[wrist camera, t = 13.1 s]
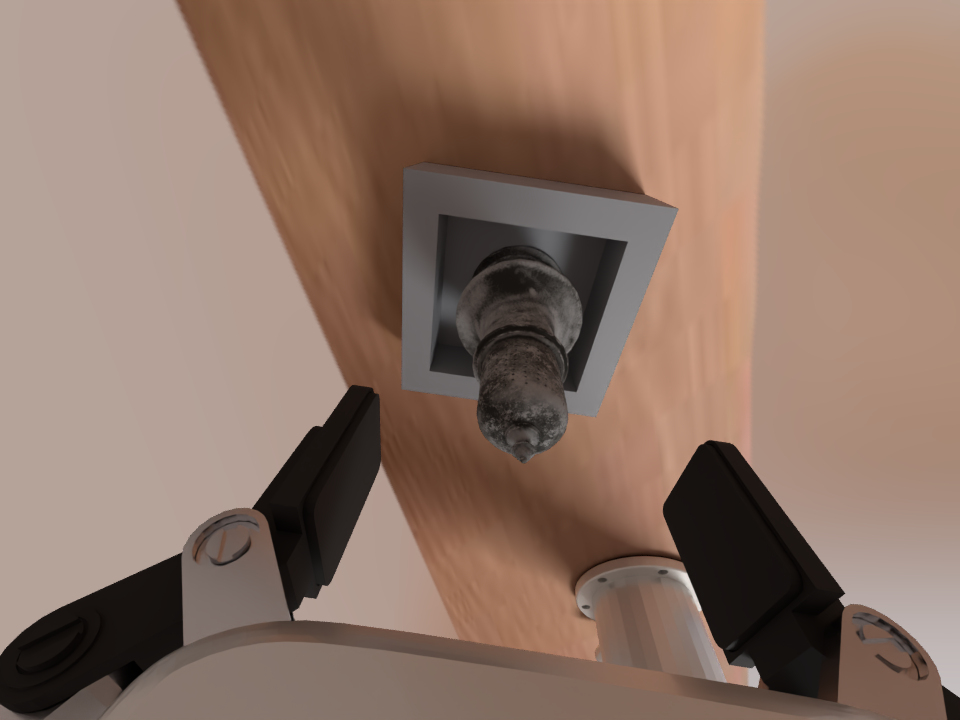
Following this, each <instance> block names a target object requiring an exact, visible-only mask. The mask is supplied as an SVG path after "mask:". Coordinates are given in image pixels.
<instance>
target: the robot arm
mask: <svg viewBox="0 0 960 720" xmlns="http://www.w3.org/2000/svg"><path fill="white" fill-rule="evenodd" d="M380 462H381V445H380V399H379V394H375V393H374V391H373V388H370V387H363V386H357V385H352V386H351V387H350V388H349V389H348V391H347V392H346V394H345V395H344V397H343V398H342V399H341V401H340V402H339V404H338V405H337V407H336V408H335V409H334V411H333V412H332V414H331V415H330V417H329V418H328V419H327V421H326V422H325V424H324V425H323V427H320V426H315V427H313V428H312V429H311V430H310V431H309V432H308V433H307V434H306V436H305V437H304V439H303V440H302V441H301V443H300V444H299V445H298V447H297V448H296V449H295V451H294V452H293V453H292V455H291V456H290V458H289V459H288V460H287V462H286V463H285V464H284V466H283V467H282V468H281V470H280V471H279V473H278V474H277V475H276V477H275V478H274V479H273V481H272V482H271V483H270V485H269V486H268V488H267V489H266V490H265V492H264V493H263V494H262V496H261V497H260V498H259V500H258V501H257V502H256V504H255V505H254V507H253V508H252V509H250V508H236V509H232V510H229V511H224V512H222V513H220V514H218V515H216V516H214V517H212V518H210V519H208V520H207V521H206V522H204V523H203V524H201V525H200V526H199V527H198V528H197V529H196V530H195V531H194V532H193V533H192V534H191V535H190V537H189V539H188V540H187V542H186V544H185V545H184V548H183V552H182V553H180V554H178V555H175V556H173V557H171V558H169V559H167V560H164V561H162V562H160V563H158V564H156V565H153V566H151V567H149V568H147V569H145V570H142V571H140V572H138V573H136V574H133V575H131V576H129V577H127V578H125V579H123V580H120V581H118V582H116V583H114V584H112V585H109V586H107V587H105V588H103V589H100V590H98V591H96V592H94V593H92V594H90V595H87V596H85V597H83V598H81V599H78V600H76V601H74V602H72V603H70V604H67V605H65V606H63V607H61V608H59V609H57V610H55V611H53V612H52V613H50V614H48V615H46V616H44V617H42V618H41V619H39V620H38V621H37V622H35V623H34V624H32V625H31V626H30V627H28V628H27V629H26V630H24V631H23V632H22V633H21V634H20V635H19V636H18V637H17V638H16V639H15V640H14V641H13V642H11V643H10V644H9V646H7V647H6V649H5V650H4V651H3V653H2V654H1V655H0V720H960V698H959V697H958V696H956V695H955V694H954V693H952V692H951V691H949V690H948V689H947V688H945V687H944V686H942V685H941V679H940V676H939V673H938V670H937V667H936V665H935V664H934V662H933V661H932V659H931V658H930V656H929V655H928V653H927V652H926V651H925V650H924V648H923V647H922V646H921V645H920V644H919V643H918V642H917V641H916V639H915V638H913V637H912V636H911V635H910V634H909V633H908V632H907V631H906V630H904V629H903V628H902V627H901V626H899V625H898V624H897V623H895V622H894V621H893V620H891V619H890V618H888V617H887V616H885V615H883V614H881V613H880V612H878V611H876V610H874V609H872V608H869V607H866V606H863V605H858V604H850V605H848V606H846V607H844V606H843V605H842V603H841V602H840V600H839V598H840V597H841V596H843V595H844V594H845V593H844V591H843V590H842V589H841V587H840V586H839V585H838V583H837V582H836V581H835V579H834V578H833V577H832V576H831V574H830V572H829V571H828V570H827V569H826V567H825V566H824V564H823V563H822V562H821V561H820V559H819V558H818V556H817V555H816V554H815V552H814V551H813V550H812V548H811V547H810V546H809V545H808V543H807V542H806V540H805V539H804V538H803V536H802V535H801V534H800V532H799V531H798V530H797V528H796V527H795V526H794V525H793V523H792V522H791V520H790V519H789V518H788V516H787V515H786V514H785V512H784V511H783V510H782V508H781V507H780V506H779V504H778V503H777V502H776V500H775V499H774V498H773V496H772V495H771V493H770V492H769V491H768V489H767V488H766V487H765V485H764V484H763V483H762V481H761V480H760V479H759V477H758V476H757V475H756V473H755V472H754V471H753V469H752V468H751V467H750V465H749V464H748V463H747V461H746V460H745V459H744V457H743V456H742V455H741V453H740V452H739V451H738V449H737V448H736V447H735V446H734V445H733V444H731V443H725V442H719V441H712V440H709V441H707V442H705V444H701V445H700V446H699V447H698V448H697V450H696V452H695V453H694V455H693V456H692V458H691V460H690V461H689V463H688V465H687V466H686V468H685V470H684V471H683V473H682V475H681V476H680V478H679V480H678V481H677V483H676V485H675V486H674V488H673V490H672V491H671V493H670V495H669V496H668V498H667V500H666V501H665V503H664V506H663V515H664V518H665V520H666V523H667V525H668V528H669V530H670V533H671V535H672V538H673V540H674V542H675V545H676V547H677V550H678V552H679V555H680V557H681V560H682V562H680V561H676V560H673V559H669V558H663V557H654V556H634V557H626V558H619V559H615V560H612V561H608V562H605V563H603V564H600V565H597V566H596V567H594V568H592V569H590V570H589V571H587V572H586V573H585V574H584V575H583V576H581V578H580V579H579V580H578V582H577V584H576V587H575V596H576V602H577V606H578V607H579V609H580V610H581V611H582V612H583V613H584V614H585V615H586V616H587V617H589V618H591V619H592V620H594V621H595V622H596V628H597V633H598V639H599V645H598V647H597V648H596V650H595V657H596V659H597V661H598V662H597V661H590V660H584V659H578V658H572V657H565V656H559V655H553V654H546V653H540V652H534V651H528V650H521V649H515V648H508V647H502V646H495V645H489V644H483V643H476V642H470V641H463V640H457V639H450V638H444V637H437V636H431V635H424V634H418V633H411V632H404V631H396V630H389V629H381V628H374V627H367V626H359V625H351V624H344V623H332V622H320V621H307V620H304V621H295V619H294V615H293V611H295V610H296V609H298V608H299V606H300V604H301V602H302V600H303V598H304V597H308V598H315V599H316V598H317V596H318V594H319V591H320V589H321V587H322V585H325V586H328V585H329V584H330V582H331V581H332V578H333V576H334V574H335V572H336V569H337V567H338V565H339V562H340V560H341V558H342V555H343V553H344V550H345V548H346V546H347V543H348V541H349V539H350V536H351V534H352V532H353V529H354V527H355V525H356V522H357V520H358V518H359V515H360V513H361V510H362V508H363V506H364V504H365V501H366V499H367V496H368V494H369V492H370V489H371V487H372V485H373V483H374V480H375V478H376V475H377V473H378V470H379V467H380ZM701 610H702V611H703V614H704V616H705V618H706V621H707V623H708V626H709V628H710V631H711V633H712V636H713V638H714V640H715V642H716V644H717V645H718V646H719V647H720V648H721V649H723V651H724V654H725V656H726V658H727V661H728V663H729V665H734V666H741V667H747V668H753V667H754V666H756V668H757V670H758V672H759V674H760V681H759V685H758V688H755V687H749V686H743V685H737V684H731V683H727V681H726V679H725V676H724V674H723V671H722V669H721V666H720V664H719V661H718V659H717V656H716V654H715V651H714V649H713V646H712V644H711V641H710V639H709V636H708V634H707V631H706V629H705V626H704V624H703V621H702V619H701V616H700V613H699V612H700V611H701Z"/></svg>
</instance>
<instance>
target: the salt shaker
mask: <svg viewBox="0 0 960 720" xmlns="http://www.w3.org/2000/svg"><path fill="white" fill-rule="evenodd" d="M456 326H457V330H458V335H459V338H460V340H461V342H462V343H463V345H464V347H465V349H466V350H467V351H468V352H469V353H470V354H471V356H472V357H473V365H472V367H473V372H474V376H475V378H476V380H477V382H478V384H479V386H480V390H479V398H478V406H477V419H478V423H479V427H480V430H481V432H482V433H483V435H484V437H485V438H486V439H487V440H488V441H489V442H490V443H491V444H493V445H494V446H495V447H497V448H498V449H500V450H502V451H504V452H506V453H509V454H512V455H513V456H514V457H515V458H517V460H519V461H521V462H522V463H526V462H527V461H529V460H530V459H531V458H532V457H533V456H534V455H535V454H539V453H542V452H544V451H546V450H548V449H550V448H551V447H552V446H553V445H555V444H556V443H557V442H558V441H559V440H560V439H561V437H562V436H563V434H564V433H565V430H566V427H567V423H568V408H567V403H566V398H565V393H564V389H563V383H564V381H565V380H566V377H567V373H568V369H569V366H568V356H567V353H568V352H569V351H570V350H571V349H572V347H573V345H574V344H575V342H576V340H577V339H578V337H579V333H580V330H581V326H582V305H581V302H580V299H579V296H578V293H577V291H576V290H575V288H574V287H573V285H572V284H571V282H570V281H569V280H568V278H566V277H565V276H564V275H563V273H562V270H561V269H560V268H559V266H558V265H557V263H556V262H555V260H553V259H552V258H551V257H550V256H548V255H547V254H546V253H545V252H543V251H540V250H538V249H536V248H533V247H528V246H520V245H517V246H510V247H504V248H502V249H500V250H497V251H495V252H493V253H491V254H490V255H489V256H488V257H486V258H485V259H484V260H482V262H481V263H480V264H479V266H478V267H477V269H476V270H475V272H474V274H473V277H472V279H471V281H470V282H469V284H468V285H467V286H466V288H465V289H464V291H463V292H462V295H461V297H460V300H459V303H458V305H457V311H456Z"/></svg>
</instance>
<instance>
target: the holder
mask: <svg viewBox="0 0 960 720" xmlns="http://www.w3.org/2000/svg"><path fill="white" fill-rule="evenodd" d="M677 212H678V208H676V207H673V206H671V205H669V204H666V203H664V202H662V201H659V200H657V199H655V198H652V197H650V196H648V195H644V194H637V193H631V192H624V191H617V190H610V189H603V188H597V187H590V186H583V185H576V184H570V183H563V182H556V181H549V180H543V179H536V178H529V177H522V176H516V175H509V174H502V173H495V172H488V171H482V170H475V169H468V168H461V167H455V166H448V165H441V164H434V163H428V162H422V163H419V164H416V165H412V166H409V167H406V168H403V273H402V389H403V390H410V391H417V392H424V393H431V394H438V395H445V396H452V397H459V398H466V399H473V400H478V398H479V390H480V386H479V384H478V382H477V380H476V378H475V376H474V372H473V367H472V365H473V357H472V356H471V354H470V353H469V352H468V351H467V350H466V349H465V347H464V345H463V343H462V342H461V340H460V338H459V335H458V330H457V326H456V311H457V305H458V303H459V300H460V297H461V295H462V292H463V291H464V289H465V288H466V286H467V285H468V284H469V282H470V281H471V279H472V277H473V274H474V272H475V270H476V269H477V267H478V266H479V264H480V263H481V262H482V260H484V259H485V258H486V257H488V256H489V255H490V254H491V253H493V252H495V251H497V250H500V249H502V248H504V247H510V246H517V245H520V246H528V247H533V248H536V249H538V250H540V251H543V252H545V253H546V254H547V255H548V256H550V257H551V258H552V259H553V260H555V262H556V263H557V265H558V266H559V268H560V269H561V270H562V273H563V275H564V276H565V277H566V278H568V280H569V281H570V282H571V284H572V285H573V287H574V288H575V290H576V291H577V293H578V296H579V299H580V302H581V305H582V326H581V330H580V333H579V337H578V339H577V340H576V342H575V344H574V345H573V347H572V349H571V350H570V351H569V352H568V353H567V356H568V366H569V369H568V373H567V377H566V380H565V381H564V383H563V389H564V393H565V398H566V403H567V408H568V413H570V414H577V415H584V416H591V417H596V416H597V413H598V411H599V408H600V406H601V403H602V401H603V398H604V396H605V393H606V391H607V388H608V386H609V383H610V381H611V378H612V375H613V373H614V370H615V368H616V365H617V363H618V360H619V358H620V355H621V353H622V350H623V348H624V345H625V343H626V340H627V338H628V335H629V333H630V330H631V328H632V325H633V323H634V320H635V318H636V315H637V313H638V310H639V307H640V305H641V302H642V300H643V297H644V295H645V292H646V290H647V287H648V285H649V282H650V280H651V277H652V275H653V272H654V270H655V267H656V265H657V262H658V260H659V257H660V255H661V252H662V250H663V247H664V244H665V242H666V239H667V237H668V234H669V232H670V229H671V227H672V224H673V222H674V219H675V217H676V214H677Z"/></svg>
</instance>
